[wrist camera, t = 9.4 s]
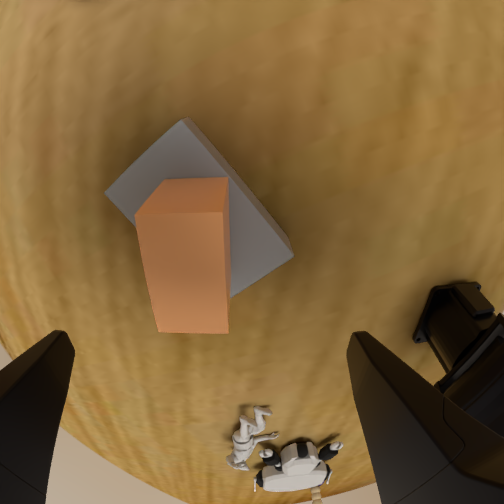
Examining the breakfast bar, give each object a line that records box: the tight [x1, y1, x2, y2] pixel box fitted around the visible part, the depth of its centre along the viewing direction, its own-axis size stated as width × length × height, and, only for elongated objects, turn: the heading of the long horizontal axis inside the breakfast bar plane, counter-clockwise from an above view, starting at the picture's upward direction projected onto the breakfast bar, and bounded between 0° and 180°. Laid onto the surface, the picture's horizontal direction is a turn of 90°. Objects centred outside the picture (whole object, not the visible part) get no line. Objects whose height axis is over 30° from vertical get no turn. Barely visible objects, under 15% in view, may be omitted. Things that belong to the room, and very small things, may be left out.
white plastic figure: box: [226, 406, 279, 470], centre depth 31 cm, size 8×5×12 cm
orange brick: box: [134, 177, 231, 334], centre depth 15 cm, size 6×3×5 cm, turn 0°
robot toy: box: [254, 442, 343, 492], centre depth 36 cm, size 12×4×15 cm
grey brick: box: [104, 117, 294, 298], centre depth 18 cm, size 10×6×3 cm, turn 37°
